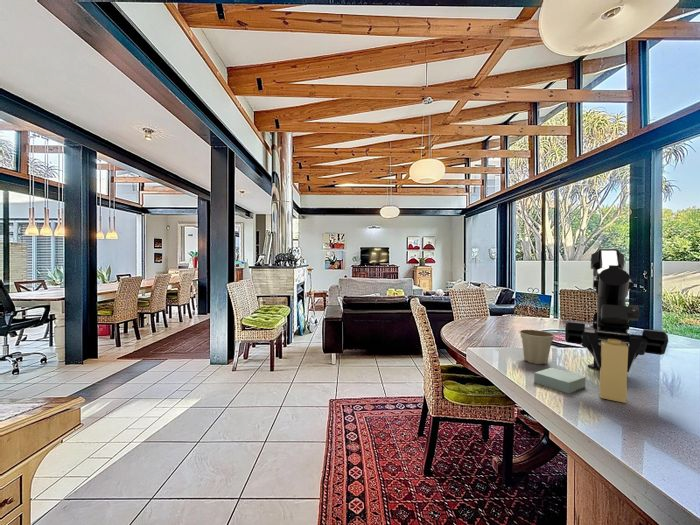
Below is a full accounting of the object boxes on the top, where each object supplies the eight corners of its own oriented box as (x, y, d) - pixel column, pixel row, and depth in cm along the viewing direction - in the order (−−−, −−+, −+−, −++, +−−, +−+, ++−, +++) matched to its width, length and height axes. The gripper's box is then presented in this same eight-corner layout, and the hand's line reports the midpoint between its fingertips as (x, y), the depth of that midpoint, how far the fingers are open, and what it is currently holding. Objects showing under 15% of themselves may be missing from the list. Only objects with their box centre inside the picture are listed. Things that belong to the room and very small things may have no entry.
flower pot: (559, 367, 99) (560, 337, 98) (523, 364, 100) (524, 335, 100) (547, 358, 108) (548, 330, 108) (514, 355, 110) (515, 328, 110)
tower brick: (599, 391, 81) (601, 336, 80) (623, 396, 78) (625, 339, 78) (600, 397, 77) (602, 340, 76) (626, 402, 74) (628, 343, 74)
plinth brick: (551, 377, 90) (551, 367, 90) (585, 387, 84) (585, 376, 84) (534, 382, 86) (534, 372, 86) (568, 393, 79) (568, 382, 79)
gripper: (566, 288, 85) (563, 341, 76) (668, 294, 75) (678, 357, 66) (566, 316, 92) (563, 368, 83) (659, 325, 82) (668, 385, 73)
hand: (613, 369), depth 76 cm, fingers closed on tower brick, 4 cm apart
